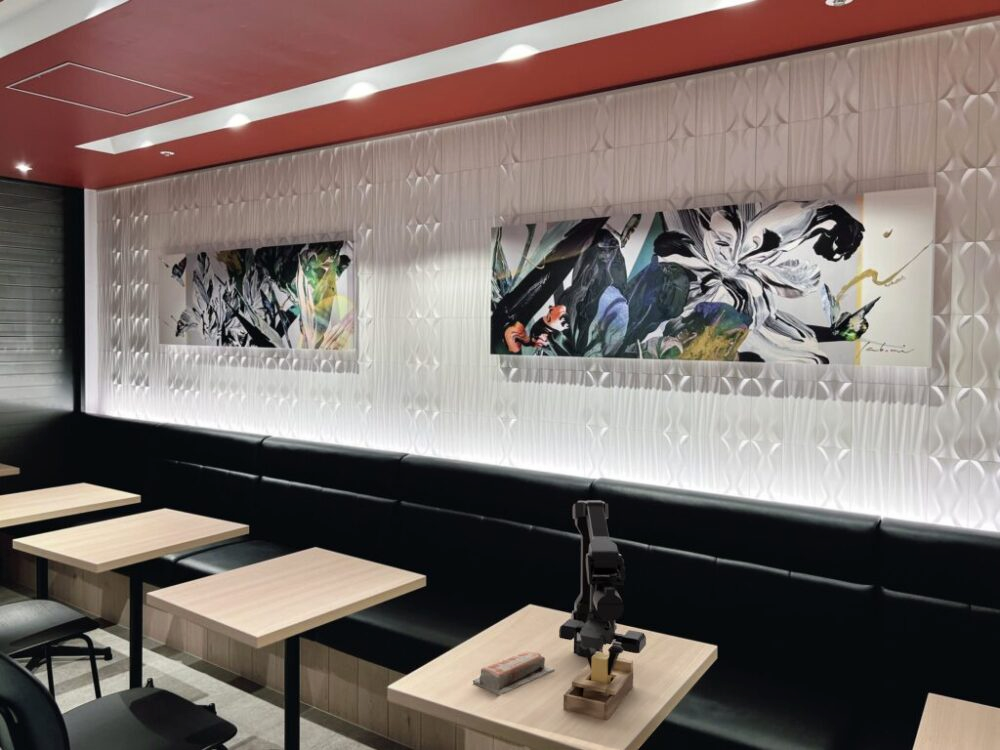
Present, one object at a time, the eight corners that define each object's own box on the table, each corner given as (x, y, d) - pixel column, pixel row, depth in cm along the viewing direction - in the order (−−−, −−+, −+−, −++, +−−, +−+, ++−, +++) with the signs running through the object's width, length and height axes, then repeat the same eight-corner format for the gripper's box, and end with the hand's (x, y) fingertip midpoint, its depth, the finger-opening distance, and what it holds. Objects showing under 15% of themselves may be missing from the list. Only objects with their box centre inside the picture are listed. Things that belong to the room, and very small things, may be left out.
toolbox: (563, 712, 170) (563, 694, 170) (591, 680, 186) (592, 664, 186) (607, 723, 166) (607, 705, 166) (632, 689, 182) (633, 672, 182)
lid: (571, 685, 174) (572, 672, 174) (591, 663, 186) (592, 651, 186) (615, 695, 170) (615, 682, 170) (633, 672, 182) (633, 660, 181)
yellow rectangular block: (590, 697, 176) (591, 656, 176) (596, 690, 179) (596, 651, 179) (605, 700, 175) (606, 659, 174) (610, 694, 178) (611, 654, 177)
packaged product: (503, 678, 177) (472, 665, 184) (503, 699, 177) (472, 685, 184) (555, 655, 190) (524, 644, 197) (555, 675, 190) (524, 663, 197)
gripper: (550, 608, 173) (548, 678, 174) (632, 623, 165) (630, 696, 165) (568, 593, 183) (567, 659, 184) (647, 607, 174) (645, 676, 175)
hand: (601, 672), depth 177 cm, fingers closed on yellow rectangular block, 3 cm apart
